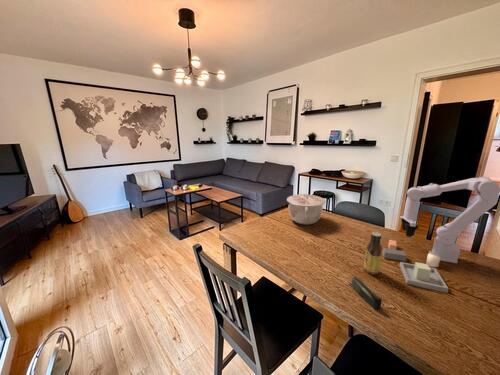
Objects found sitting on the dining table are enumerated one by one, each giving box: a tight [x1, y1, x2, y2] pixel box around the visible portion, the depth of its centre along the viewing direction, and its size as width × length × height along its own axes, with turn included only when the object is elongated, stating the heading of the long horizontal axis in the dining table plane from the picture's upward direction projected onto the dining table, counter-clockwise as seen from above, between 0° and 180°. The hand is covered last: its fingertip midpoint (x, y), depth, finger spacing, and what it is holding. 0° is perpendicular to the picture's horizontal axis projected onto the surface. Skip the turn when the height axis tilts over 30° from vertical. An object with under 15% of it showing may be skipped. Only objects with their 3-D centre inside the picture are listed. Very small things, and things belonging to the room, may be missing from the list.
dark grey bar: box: [348, 276, 383, 310], centre depth 84 cm, size 5×3×15 cm
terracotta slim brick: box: [387, 239, 398, 250], centre depth 116 cm, size 3×6×4 cm, turn 151°
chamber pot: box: [286, 193, 326, 225], centre depth 152 cm, size 28×28×21 cm
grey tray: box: [399, 261, 449, 294], centre depth 92 cm, size 14×14×2 cm
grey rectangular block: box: [382, 247, 407, 263], centre depth 108 cm, size 5×9×4 cm, turn 67°
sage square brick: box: [413, 262, 431, 281], centre depth 92 cm, size 4×4×6 cm
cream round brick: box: [425, 252, 441, 268], centre depth 101 cm, size 5×5×5 cm
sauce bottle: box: [363, 231, 383, 276], centre depth 96 cm, size 7×6×20 cm
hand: (406, 233), depth 114 cm, fingers open, 7 cm apart
